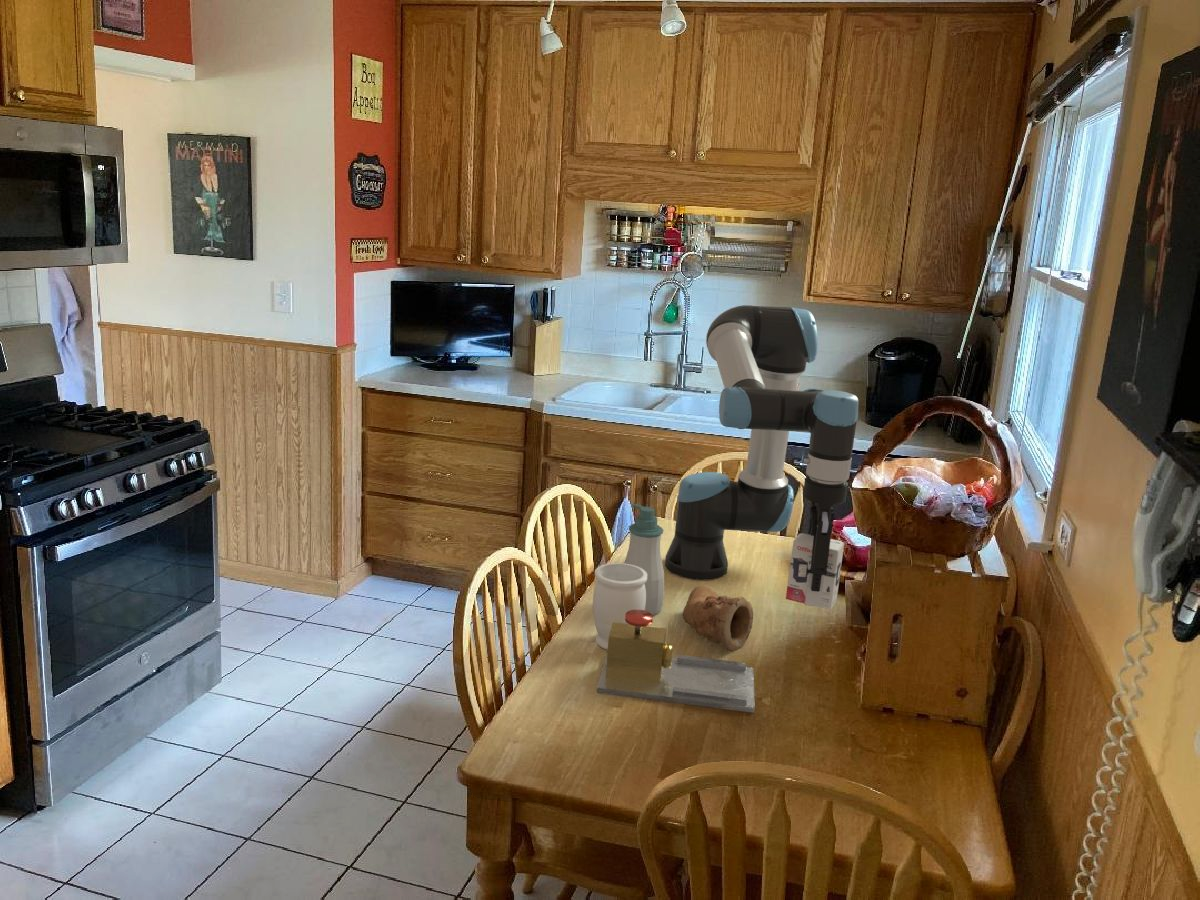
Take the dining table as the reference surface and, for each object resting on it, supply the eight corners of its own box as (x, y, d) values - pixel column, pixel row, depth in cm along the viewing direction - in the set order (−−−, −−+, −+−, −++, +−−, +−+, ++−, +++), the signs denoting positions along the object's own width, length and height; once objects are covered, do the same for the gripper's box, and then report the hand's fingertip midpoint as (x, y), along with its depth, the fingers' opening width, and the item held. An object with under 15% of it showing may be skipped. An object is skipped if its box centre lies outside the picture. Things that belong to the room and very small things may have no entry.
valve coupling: (607, 654, 183) (611, 595, 180) (752, 672, 180) (759, 612, 177) (596, 692, 169) (600, 629, 166) (754, 712, 165) (761, 648, 162)
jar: (607, 625, 195) (612, 558, 191) (651, 640, 190) (657, 570, 186) (580, 644, 186) (584, 574, 182) (625, 659, 181) (631, 587, 177)
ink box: (784, 599, 174) (792, 539, 170) (791, 590, 178) (799, 531, 175) (830, 610, 170) (839, 549, 167) (837, 601, 174) (845, 541, 171)
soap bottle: (638, 595, 211) (646, 498, 205) (671, 610, 204) (680, 511, 198) (607, 606, 204) (614, 507, 198) (640, 622, 198) (649, 520, 192)
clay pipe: (679, 665, 188) (753, 657, 184) (667, 616, 186) (741, 607, 182) (696, 624, 206) (764, 616, 201) (685, 579, 204) (753, 570, 199)
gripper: (801, 461, 177) (787, 575, 184) (809, 492, 159) (793, 617, 165) (842, 465, 177) (826, 579, 183) (854, 496, 158) (836, 622, 164)
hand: (810, 597), depth 174 cm, fingers closed on ink box, 6 cm apart
